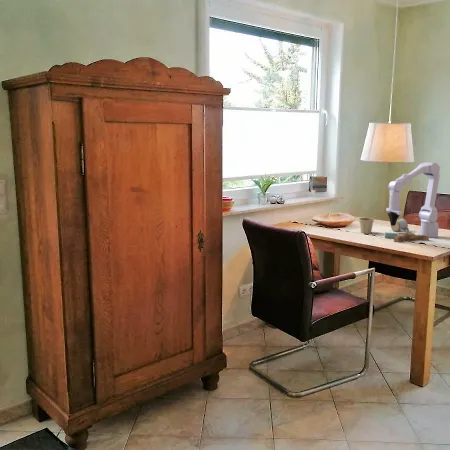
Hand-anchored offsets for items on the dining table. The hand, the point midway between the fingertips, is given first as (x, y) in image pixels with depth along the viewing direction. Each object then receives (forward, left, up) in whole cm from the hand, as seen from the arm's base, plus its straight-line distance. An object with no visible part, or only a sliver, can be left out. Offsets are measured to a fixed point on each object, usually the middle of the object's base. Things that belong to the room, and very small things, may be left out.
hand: (392, 225), depth 284 cm
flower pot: (+9, -20, -8) cm, 24 cm away
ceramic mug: (-14, -24, -9) cm, 29 cm away
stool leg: (-4, -3, -8) cm, 9 cm away
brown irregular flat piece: (-10, +1, -8) cm, 13 cm away
